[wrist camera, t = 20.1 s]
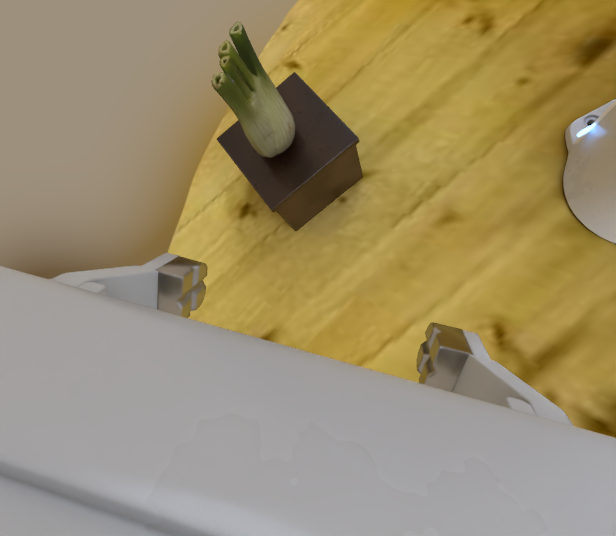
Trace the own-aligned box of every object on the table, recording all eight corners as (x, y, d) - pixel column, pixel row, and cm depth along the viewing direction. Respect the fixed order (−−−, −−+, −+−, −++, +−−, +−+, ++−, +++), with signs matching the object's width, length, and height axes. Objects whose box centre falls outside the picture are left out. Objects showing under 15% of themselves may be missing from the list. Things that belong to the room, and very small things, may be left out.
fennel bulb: (280, 108, 38) (230, 10, 27) (312, 131, 37) (273, 37, 25) (246, 148, 38) (181, 67, 27) (276, 172, 37) (220, 97, 25)
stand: (313, 119, 47) (294, 71, 39) (366, 177, 44) (358, 137, 35) (248, 174, 48) (216, 138, 40) (295, 234, 45) (270, 210, 36)
